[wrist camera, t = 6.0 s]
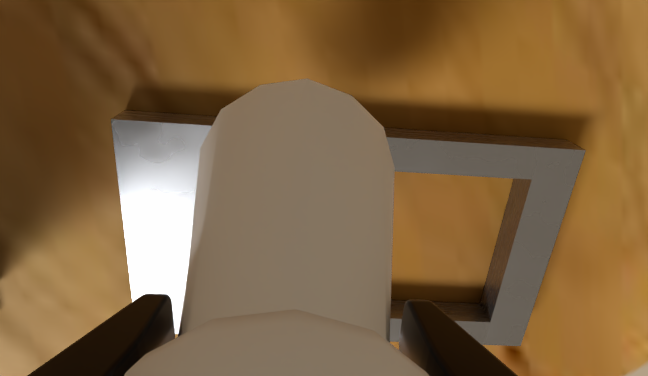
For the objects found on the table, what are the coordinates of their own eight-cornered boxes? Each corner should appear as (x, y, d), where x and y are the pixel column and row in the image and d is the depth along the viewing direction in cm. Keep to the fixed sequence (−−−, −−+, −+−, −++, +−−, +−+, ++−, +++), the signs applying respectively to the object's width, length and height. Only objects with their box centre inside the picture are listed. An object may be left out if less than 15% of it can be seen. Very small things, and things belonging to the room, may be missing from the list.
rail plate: (146, 312, 23) (136, 332, 22) (124, 110, 19) (111, 119, 18) (508, 326, 25) (520, 346, 23) (566, 139, 20) (585, 150, 19)
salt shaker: (268, 30, 14) (14, 268, 2) (413, 124, 15) (810, 611, 3) (186, 177, 16) (-203, 767, 4) (322, 249, 17) (358, 846, 5)
